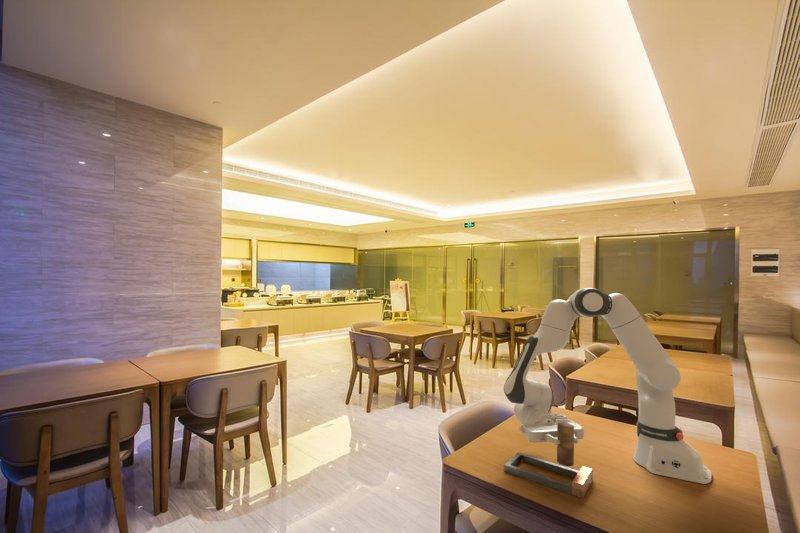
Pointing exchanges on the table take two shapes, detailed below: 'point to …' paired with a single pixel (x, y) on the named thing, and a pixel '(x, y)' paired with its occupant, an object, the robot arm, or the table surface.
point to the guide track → (580, 477)
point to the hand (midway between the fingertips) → (567, 441)
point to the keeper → (565, 444)
